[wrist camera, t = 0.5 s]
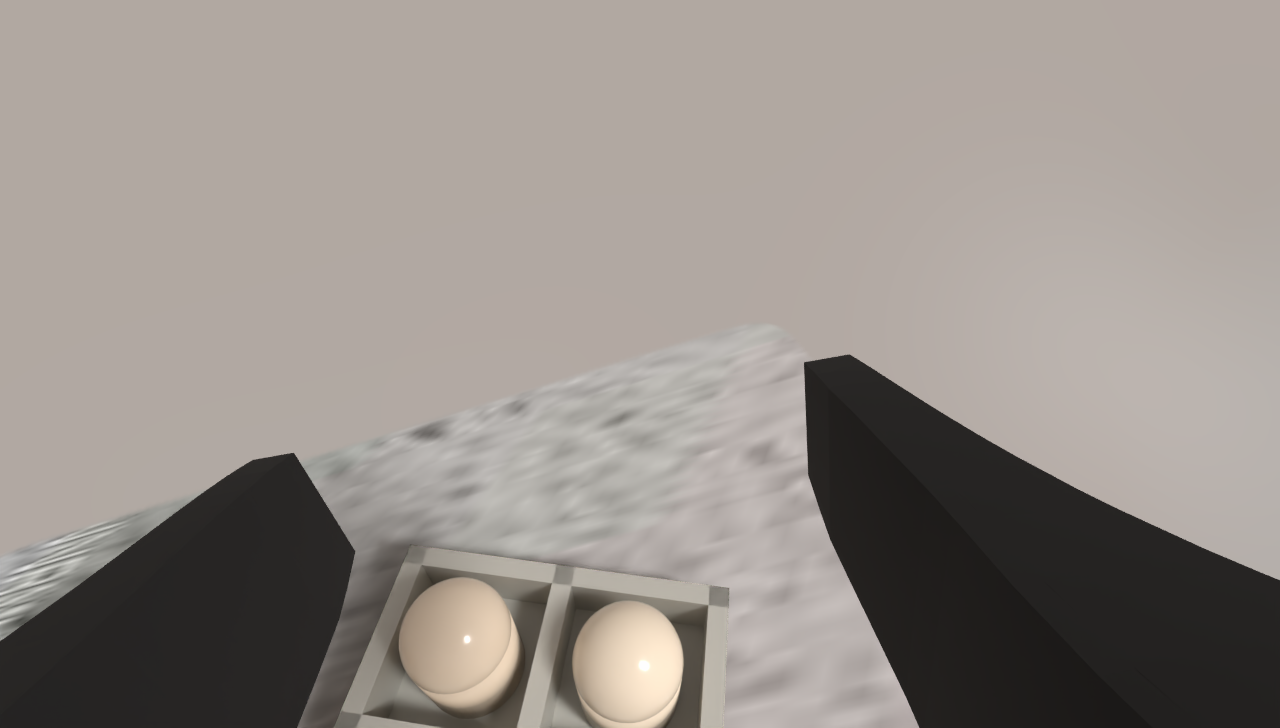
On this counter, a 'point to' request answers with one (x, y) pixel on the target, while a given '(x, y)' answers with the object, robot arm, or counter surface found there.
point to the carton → (539, 642)
